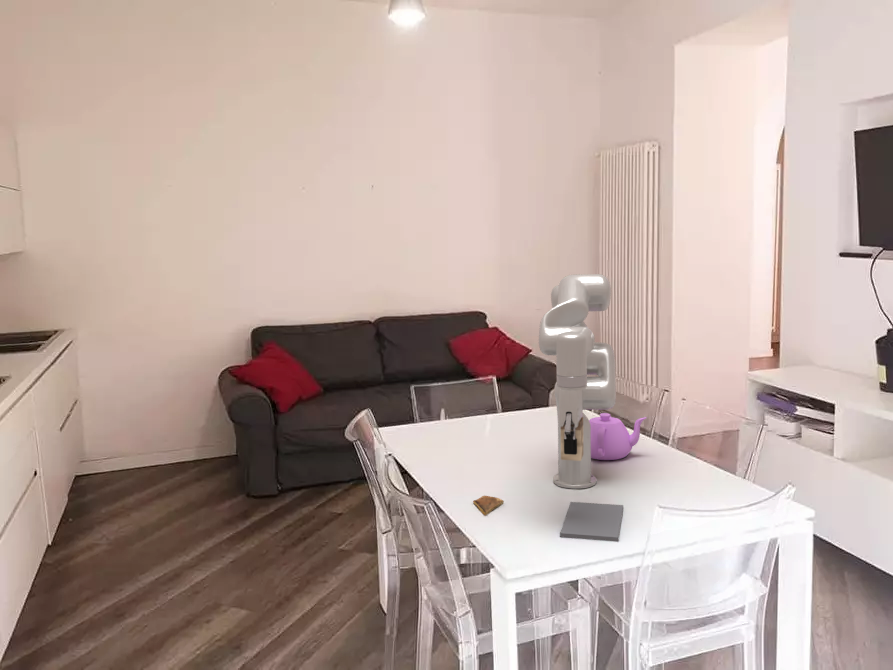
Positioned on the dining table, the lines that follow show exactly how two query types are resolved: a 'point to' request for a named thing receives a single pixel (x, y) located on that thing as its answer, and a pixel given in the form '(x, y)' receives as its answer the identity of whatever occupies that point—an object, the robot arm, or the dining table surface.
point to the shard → (487, 503)
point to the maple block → (579, 443)
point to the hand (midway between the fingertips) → (572, 449)
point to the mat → (592, 521)
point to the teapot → (612, 437)
